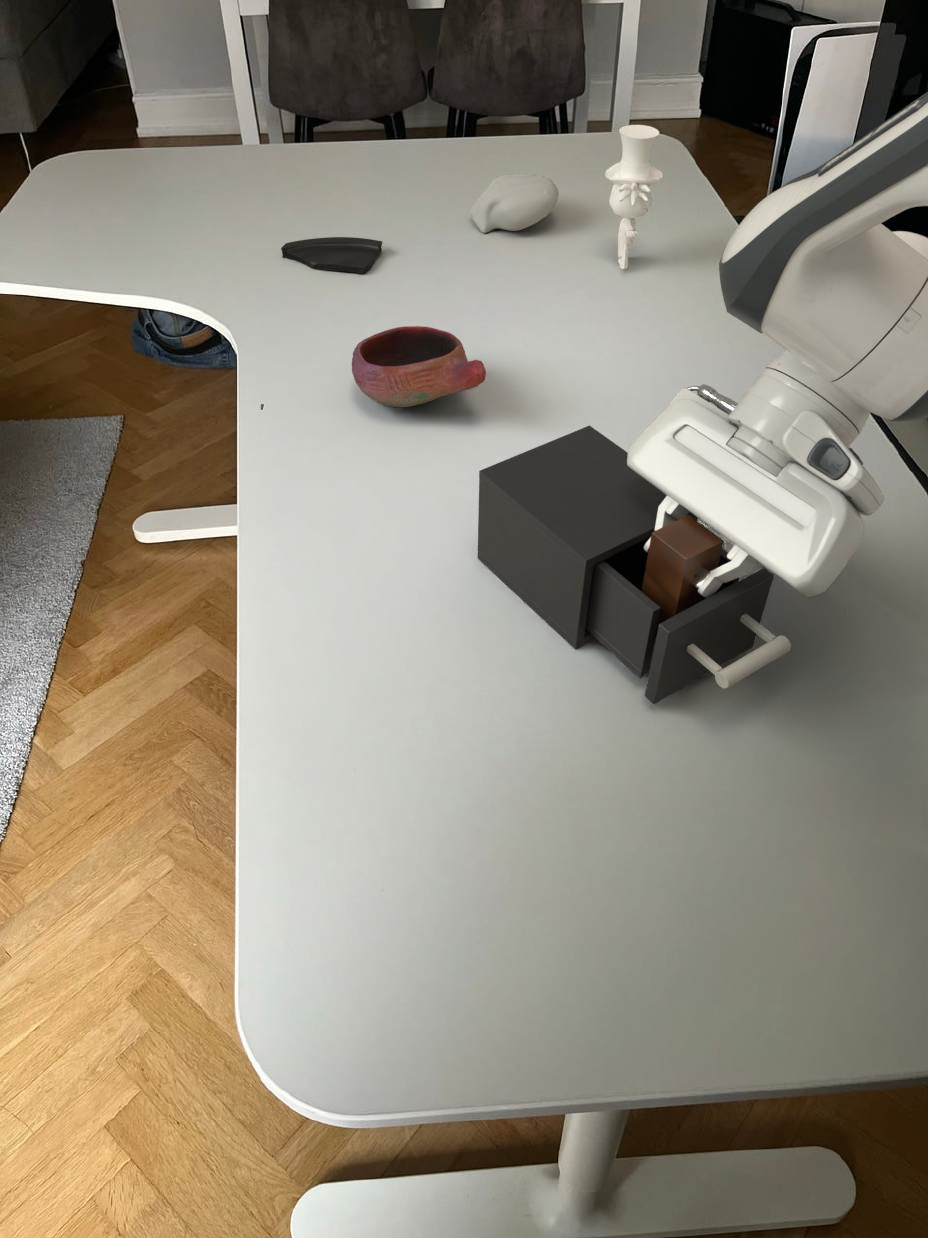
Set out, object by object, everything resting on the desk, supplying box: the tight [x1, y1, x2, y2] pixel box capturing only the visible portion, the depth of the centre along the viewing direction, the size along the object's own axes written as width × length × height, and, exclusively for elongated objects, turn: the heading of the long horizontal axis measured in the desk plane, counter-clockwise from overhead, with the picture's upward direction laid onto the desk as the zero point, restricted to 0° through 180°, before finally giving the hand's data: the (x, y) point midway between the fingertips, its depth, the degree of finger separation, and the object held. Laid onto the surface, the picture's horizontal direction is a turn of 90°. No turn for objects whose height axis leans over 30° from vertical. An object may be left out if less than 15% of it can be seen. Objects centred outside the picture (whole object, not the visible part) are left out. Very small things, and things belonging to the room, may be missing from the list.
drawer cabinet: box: [477, 425, 699, 650], centre depth 90 cm, size 15×13×10 cm
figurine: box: [604, 124, 664, 270], centre depth 135 cm, size 10×8×18 cm
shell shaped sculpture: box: [469, 173, 560, 234], centre depth 149 cm, size 13×13×6 cm
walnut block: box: [641, 515, 725, 623], centre depth 81 cm, size 4×4×8 cm
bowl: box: [351, 325, 487, 408], centre depth 113 cm, size 16×13×8 cm
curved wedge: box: [280, 236, 383, 274], centre depth 142 cm, size 8×14×2 cm, turn 74°
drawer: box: [585, 538, 792, 705], centre depth 83 cm, size 18×12×8 cm, turn 35°
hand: (675, 574), depth 80 cm, fingers closed on walnut block, 4 cm apart
